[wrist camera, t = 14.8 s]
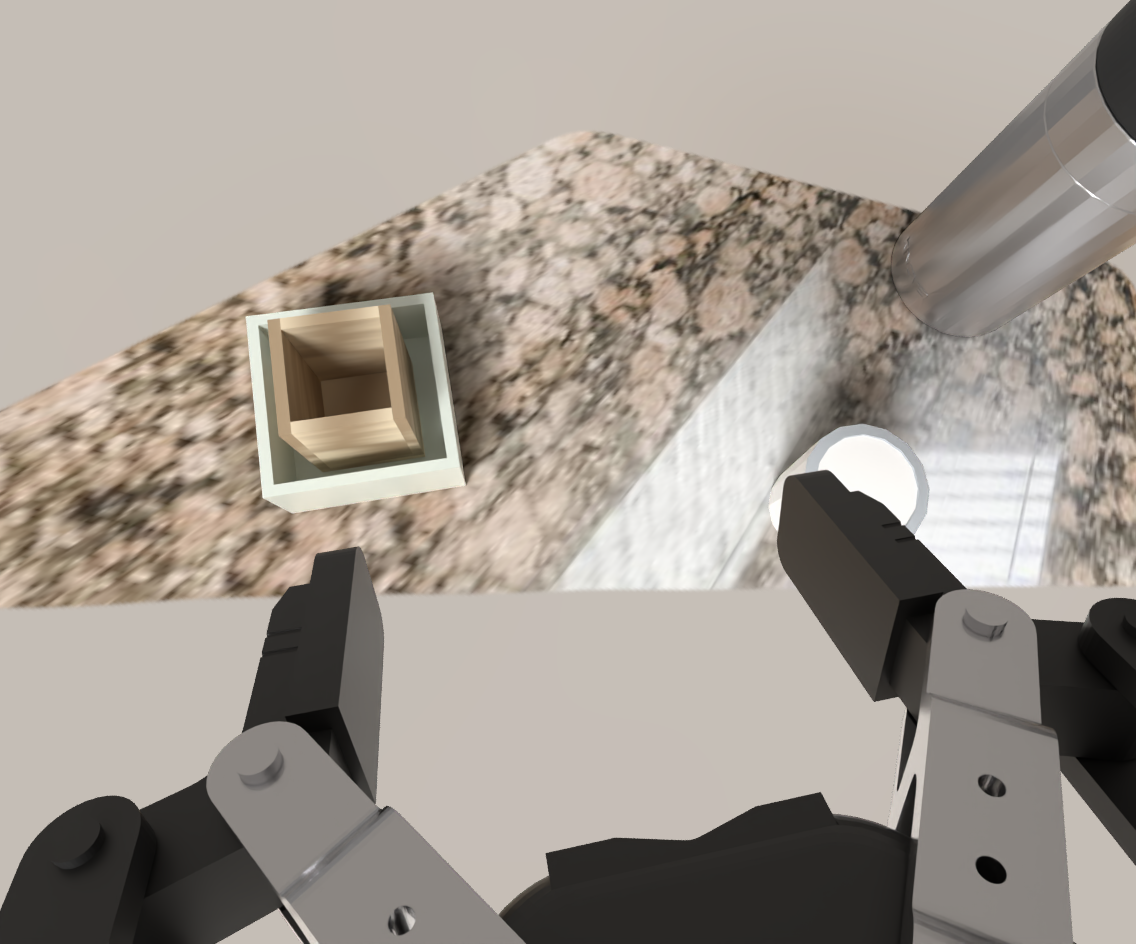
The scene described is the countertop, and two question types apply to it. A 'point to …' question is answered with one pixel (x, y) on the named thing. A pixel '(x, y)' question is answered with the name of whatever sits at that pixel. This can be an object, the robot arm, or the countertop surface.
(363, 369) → the birch crate
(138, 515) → the countertop surface
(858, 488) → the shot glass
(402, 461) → the sage crate
